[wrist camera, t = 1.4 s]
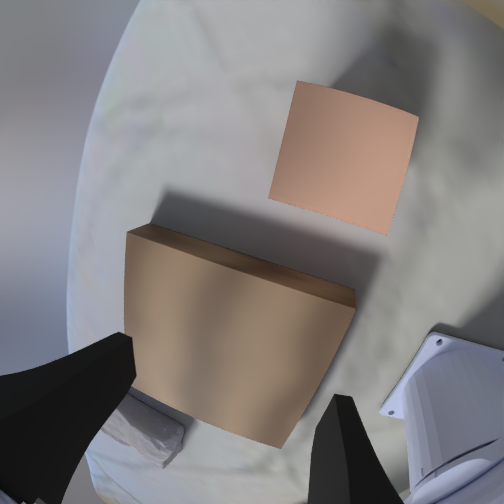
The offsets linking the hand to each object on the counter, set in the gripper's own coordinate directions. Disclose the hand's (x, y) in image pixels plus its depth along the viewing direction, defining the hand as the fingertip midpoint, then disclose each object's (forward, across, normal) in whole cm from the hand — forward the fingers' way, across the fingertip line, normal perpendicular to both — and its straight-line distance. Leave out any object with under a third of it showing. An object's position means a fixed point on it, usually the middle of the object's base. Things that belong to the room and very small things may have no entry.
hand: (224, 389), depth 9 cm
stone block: (+10, +11, +23) cm, 27 cm away
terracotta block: (+10, -3, -8) cm, 13 cm away
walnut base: (+10, +2, +6) cm, 12 cm away
